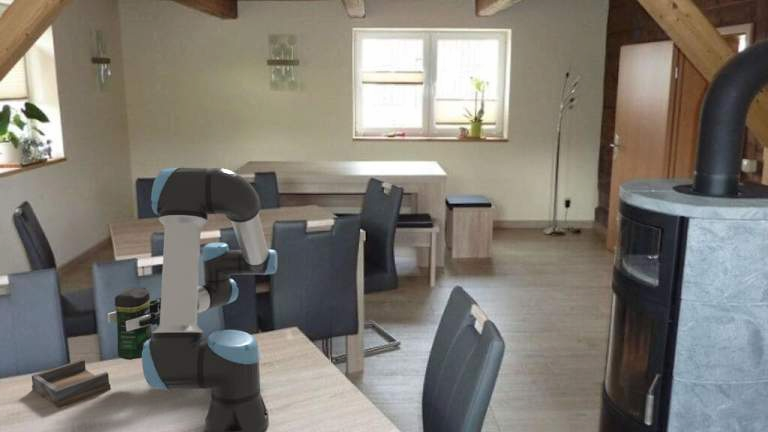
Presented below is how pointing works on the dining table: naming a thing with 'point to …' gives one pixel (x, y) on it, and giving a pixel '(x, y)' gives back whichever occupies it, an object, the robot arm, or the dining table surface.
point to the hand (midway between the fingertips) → (117, 322)
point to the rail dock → (69, 384)
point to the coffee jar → (128, 308)
